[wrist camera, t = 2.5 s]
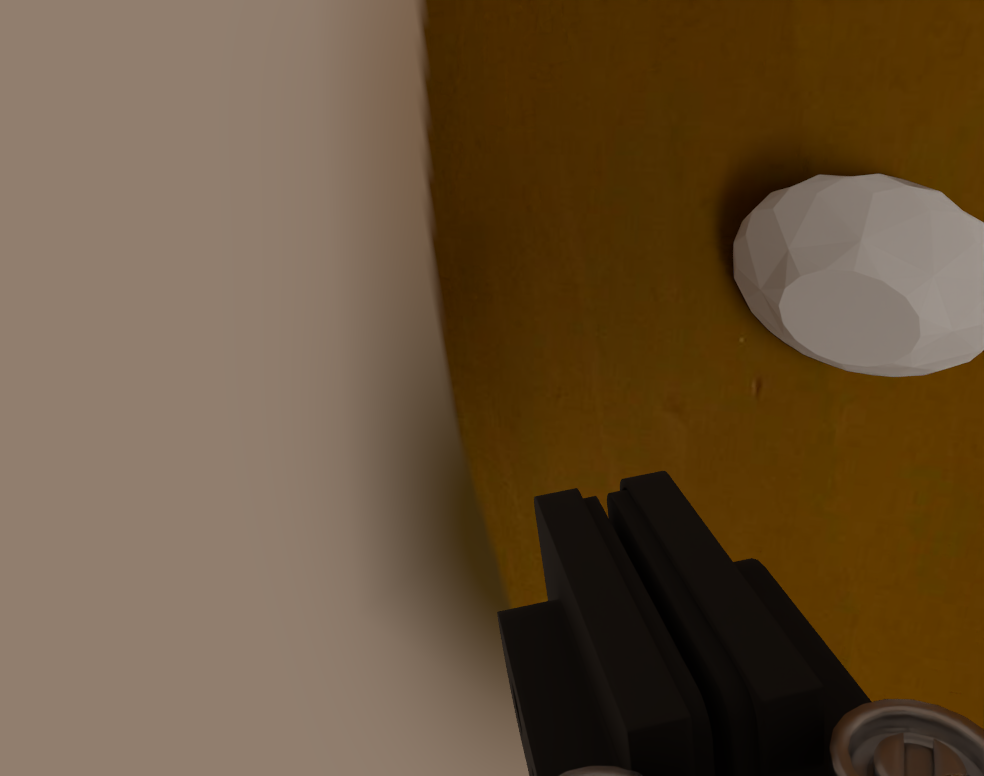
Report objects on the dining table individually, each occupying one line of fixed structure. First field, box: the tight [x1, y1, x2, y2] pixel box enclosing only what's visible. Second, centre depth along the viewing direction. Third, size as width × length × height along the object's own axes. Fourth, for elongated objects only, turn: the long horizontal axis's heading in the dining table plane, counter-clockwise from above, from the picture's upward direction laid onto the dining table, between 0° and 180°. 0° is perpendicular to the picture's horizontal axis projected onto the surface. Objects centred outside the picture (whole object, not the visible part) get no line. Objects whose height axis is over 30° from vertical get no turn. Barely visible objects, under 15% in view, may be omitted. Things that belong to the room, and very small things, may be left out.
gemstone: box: [733, 174, 984, 377], centre depth 20 cm, size 6×6×5 cm
